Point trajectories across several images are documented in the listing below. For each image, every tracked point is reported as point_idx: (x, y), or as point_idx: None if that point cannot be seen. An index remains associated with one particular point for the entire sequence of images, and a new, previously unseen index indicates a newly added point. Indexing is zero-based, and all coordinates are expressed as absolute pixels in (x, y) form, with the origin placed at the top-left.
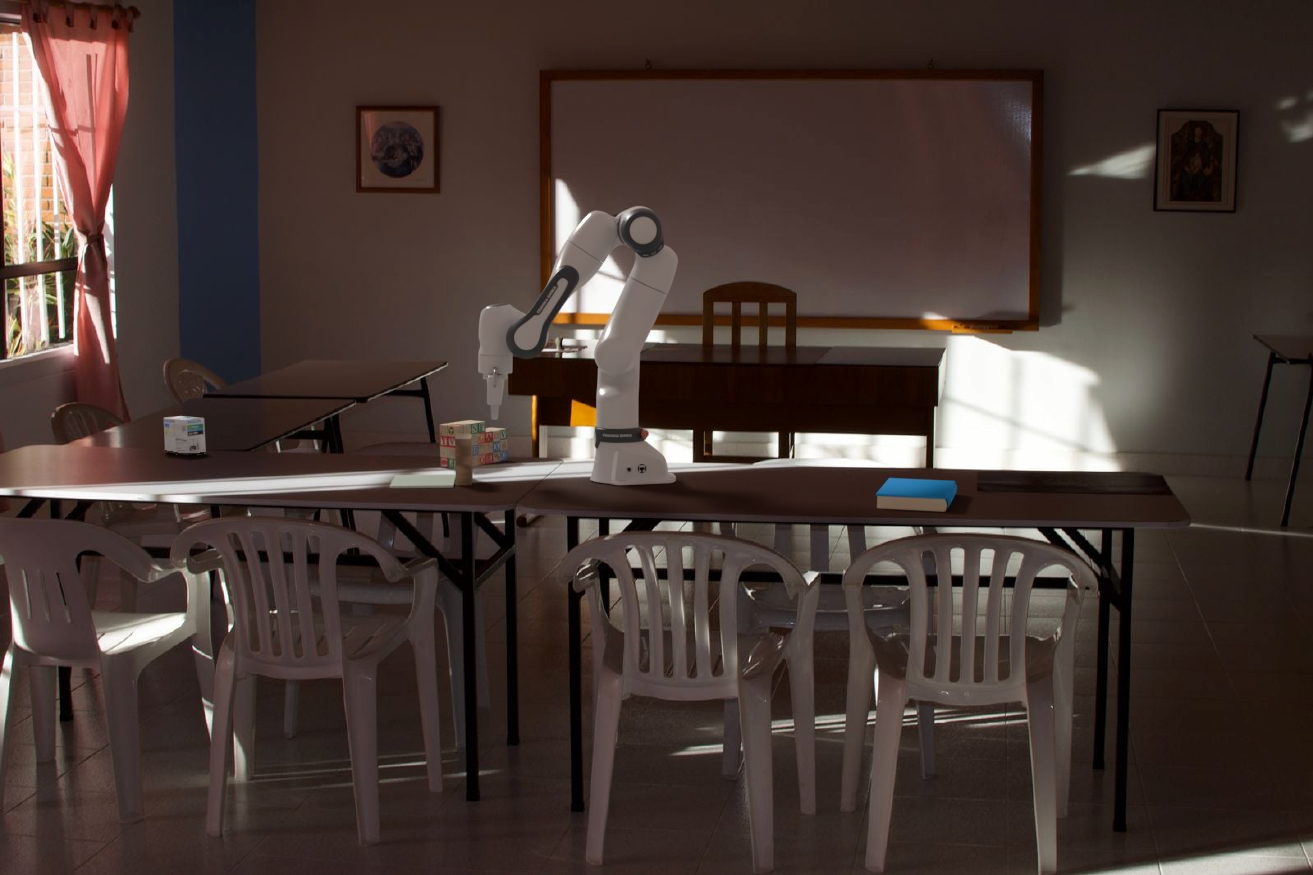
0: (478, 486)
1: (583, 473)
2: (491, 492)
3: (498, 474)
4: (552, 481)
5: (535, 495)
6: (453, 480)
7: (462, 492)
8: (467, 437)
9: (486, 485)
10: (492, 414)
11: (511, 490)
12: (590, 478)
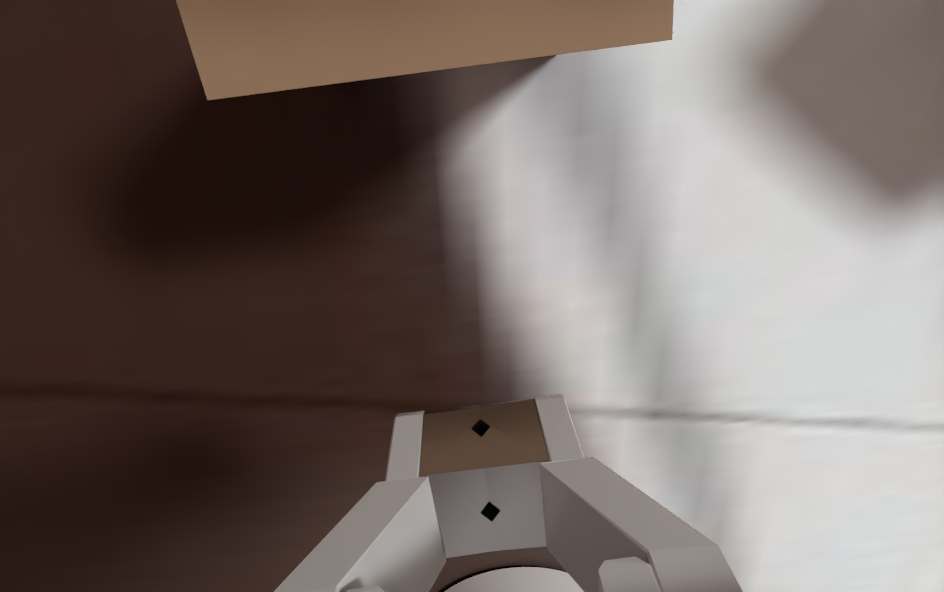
0: (285, 134)
1: None
2: (107, 236)
3: (718, 186)
4: None
5: (95, 431)
6: None
7: (47, 69)
8: (329, 33)
9: (328, 175)
10: (389, 475)
11: (198, 321)
12: (507, 571)
